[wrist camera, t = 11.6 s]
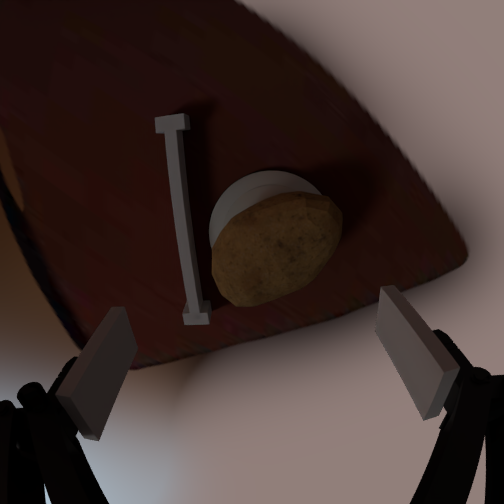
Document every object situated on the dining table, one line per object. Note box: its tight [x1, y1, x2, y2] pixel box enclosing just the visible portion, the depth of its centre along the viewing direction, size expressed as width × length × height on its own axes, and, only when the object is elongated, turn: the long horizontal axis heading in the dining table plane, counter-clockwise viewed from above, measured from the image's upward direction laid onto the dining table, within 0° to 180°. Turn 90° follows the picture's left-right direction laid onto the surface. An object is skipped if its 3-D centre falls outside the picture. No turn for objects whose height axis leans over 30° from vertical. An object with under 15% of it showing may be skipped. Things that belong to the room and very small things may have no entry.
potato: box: [212, 191, 343, 306], centre depth 30 cm, size 10×14×8 cm
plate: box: [209, 170, 322, 248], centre depth 35 cm, size 14×14×1 cm
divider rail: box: [155, 113, 212, 325], centre depth 33 cm, size 24×3×3 cm, turn 4°
